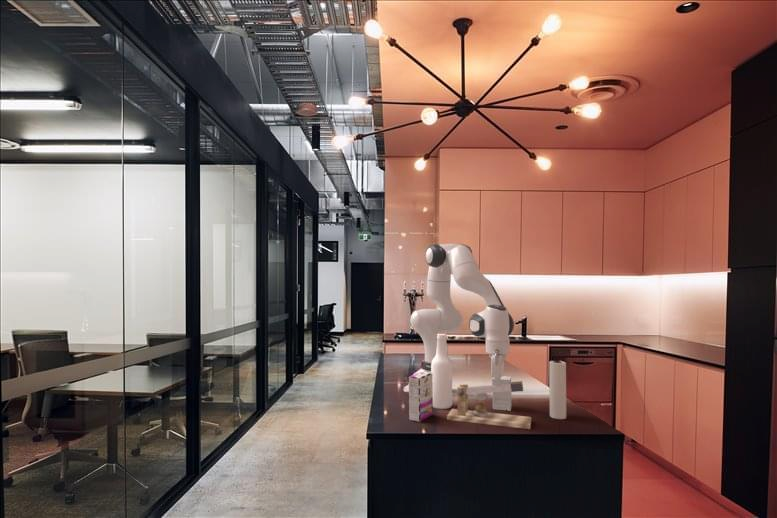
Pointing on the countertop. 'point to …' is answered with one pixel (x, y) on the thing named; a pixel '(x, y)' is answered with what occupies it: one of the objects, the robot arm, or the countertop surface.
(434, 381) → the alcohol
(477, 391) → the lever
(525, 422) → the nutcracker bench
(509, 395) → the supplement box
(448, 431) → the countertop surface
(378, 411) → the countertop surface
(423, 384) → the candy bar box
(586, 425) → the countertop surface
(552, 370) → the paper towel roll
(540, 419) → the countertop surface
